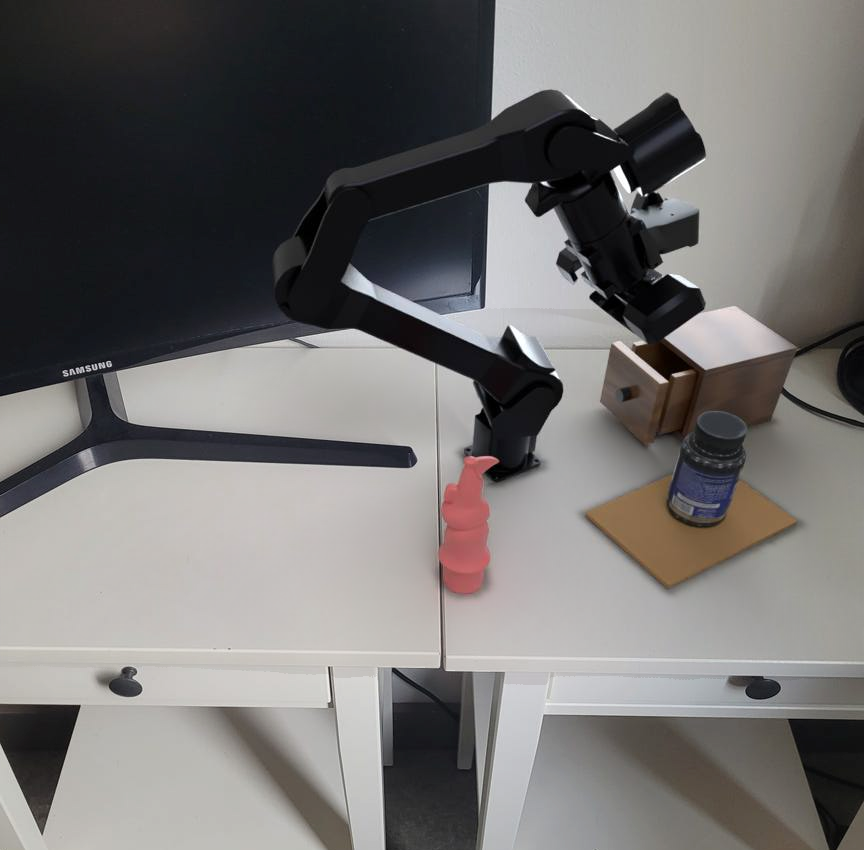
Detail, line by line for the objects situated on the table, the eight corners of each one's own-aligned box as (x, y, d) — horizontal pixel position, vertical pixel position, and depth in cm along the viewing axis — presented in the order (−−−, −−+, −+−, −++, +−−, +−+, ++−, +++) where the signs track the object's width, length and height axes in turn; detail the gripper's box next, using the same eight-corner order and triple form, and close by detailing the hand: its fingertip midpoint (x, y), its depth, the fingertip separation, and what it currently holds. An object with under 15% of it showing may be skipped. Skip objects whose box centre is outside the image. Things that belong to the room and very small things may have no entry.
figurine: (472, 552, 81) (483, 431, 72) (499, 586, 78) (514, 464, 68) (427, 568, 80) (431, 447, 70) (452, 604, 76) (461, 482, 67)
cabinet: (684, 444, 95) (705, 370, 88) (631, 396, 102) (647, 324, 96) (771, 420, 98) (798, 347, 92) (713, 375, 106) (734, 305, 99)
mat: (667, 589, 77) (669, 585, 77) (584, 515, 85) (585, 511, 85) (796, 524, 84) (798, 520, 84) (708, 461, 92) (709, 457, 92)
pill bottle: (734, 528, 83) (767, 442, 76) (676, 531, 83) (703, 445, 76) (711, 488, 88) (740, 404, 81) (656, 491, 87) (680, 407, 80)
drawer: (635, 447, 93) (650, 386, 87) (591, 403, 99) (602, 344, 94) (727, 423, 96) (746, 363, 91) (677, 382, 103) (693, 324, 98)
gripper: (732, 196, 67) (777, 330, 77) (619, 145, 82) (668, 263, 91) (618, 278, 69) (676, 400, 78) (528, 214, 84) (586, 323, 93)
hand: (652, 340), depth 85 cm, fingers closed
